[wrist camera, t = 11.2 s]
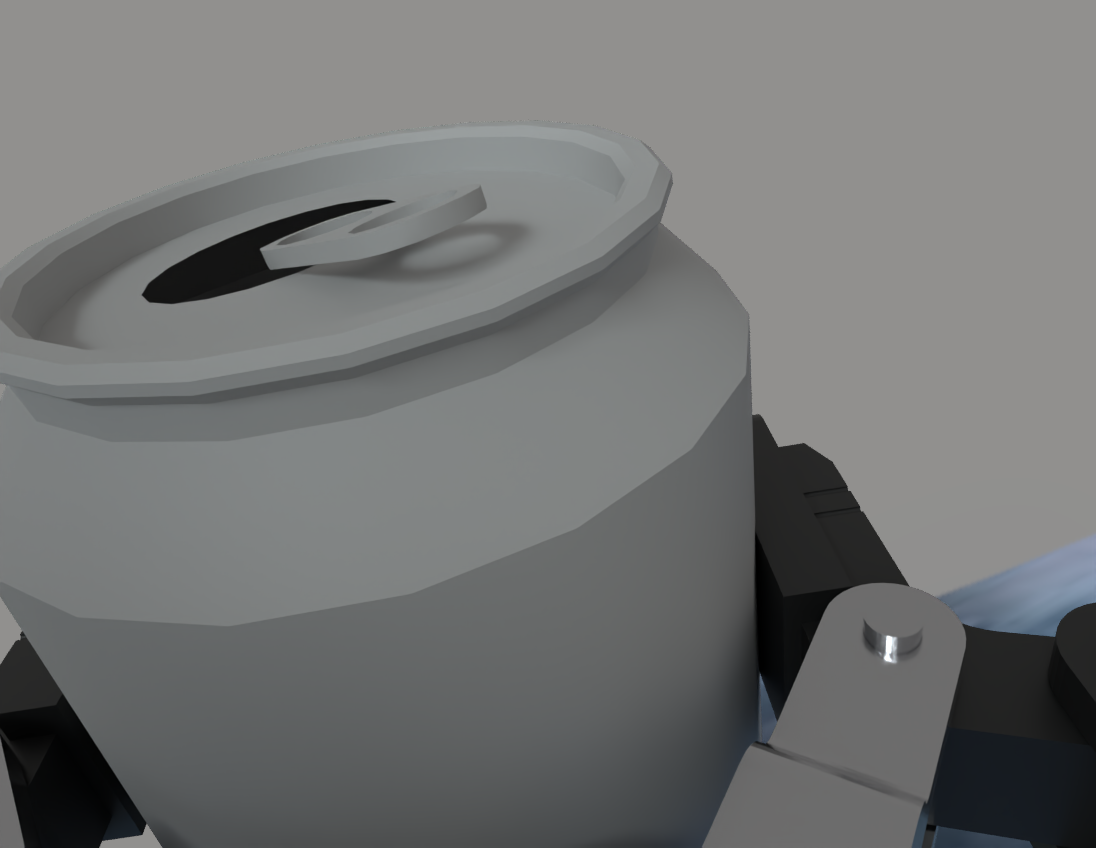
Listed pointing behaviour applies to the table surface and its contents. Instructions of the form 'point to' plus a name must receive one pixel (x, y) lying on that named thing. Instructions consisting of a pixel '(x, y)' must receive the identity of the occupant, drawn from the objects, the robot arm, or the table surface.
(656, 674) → the can
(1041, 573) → the table surface
